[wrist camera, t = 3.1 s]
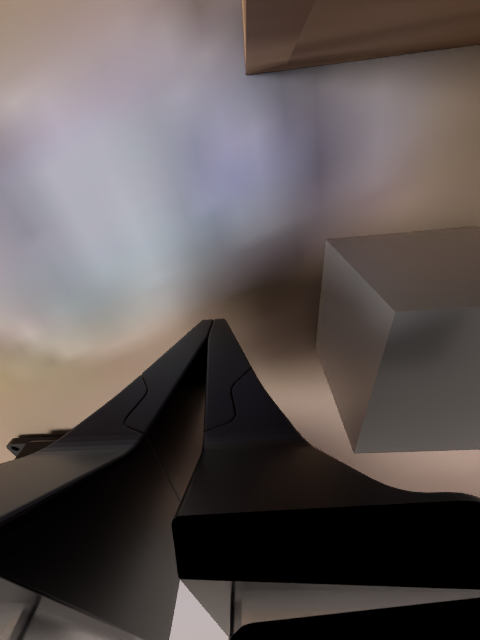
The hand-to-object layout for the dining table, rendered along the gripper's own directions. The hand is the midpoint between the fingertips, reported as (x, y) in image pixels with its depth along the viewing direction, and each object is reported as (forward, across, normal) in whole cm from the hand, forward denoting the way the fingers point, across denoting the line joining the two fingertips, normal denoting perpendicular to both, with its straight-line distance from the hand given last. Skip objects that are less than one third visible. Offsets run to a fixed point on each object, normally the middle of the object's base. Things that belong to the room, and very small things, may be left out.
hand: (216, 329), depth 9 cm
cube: (+2, -7, 0) cm, 7 cm away
